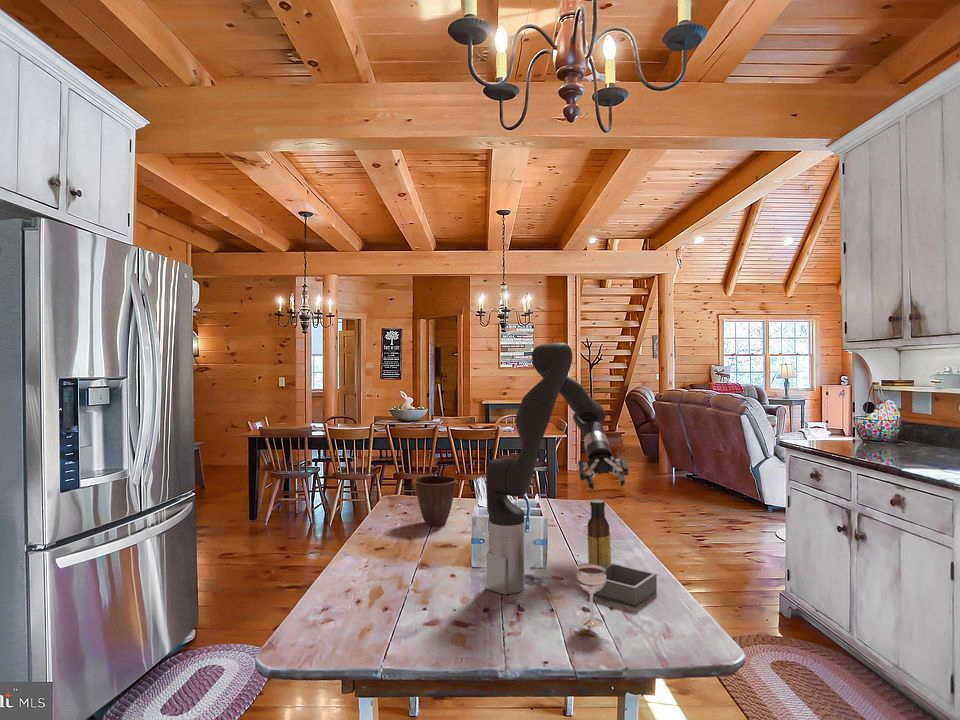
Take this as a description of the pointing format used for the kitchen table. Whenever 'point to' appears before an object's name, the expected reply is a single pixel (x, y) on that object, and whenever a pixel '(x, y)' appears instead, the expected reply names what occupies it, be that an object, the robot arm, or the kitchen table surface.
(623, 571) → the grey shallow tray
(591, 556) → the sauce bottle
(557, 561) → the kitchen table surface
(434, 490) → the plant pot
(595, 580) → the wineglass
